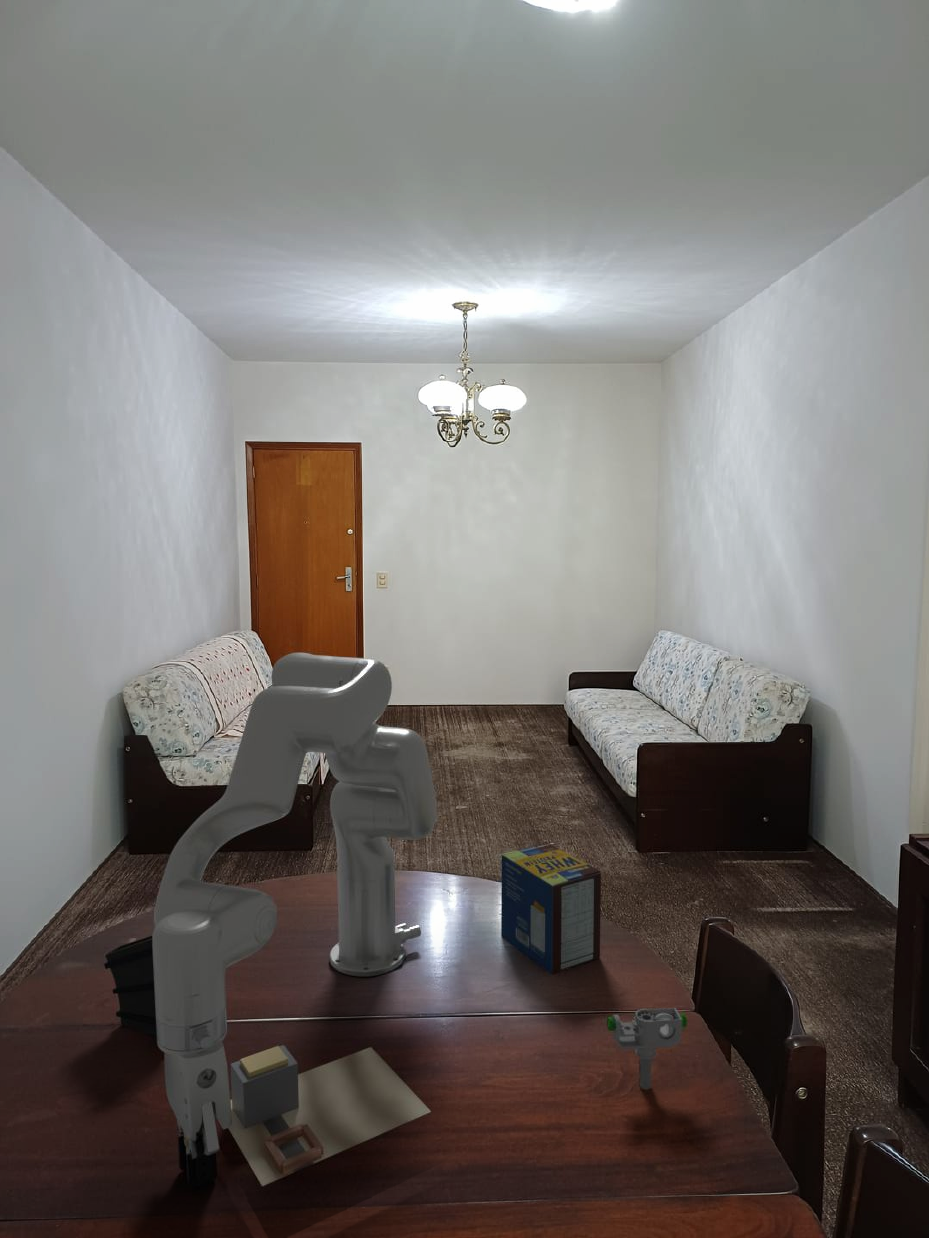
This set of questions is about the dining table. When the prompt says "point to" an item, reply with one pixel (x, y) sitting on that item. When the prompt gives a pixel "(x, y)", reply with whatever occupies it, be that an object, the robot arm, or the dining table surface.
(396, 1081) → the board
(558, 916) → the protein box
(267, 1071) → the grey boxy piece
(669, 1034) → the mechanical component
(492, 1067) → the dining table surface
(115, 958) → the magazine
